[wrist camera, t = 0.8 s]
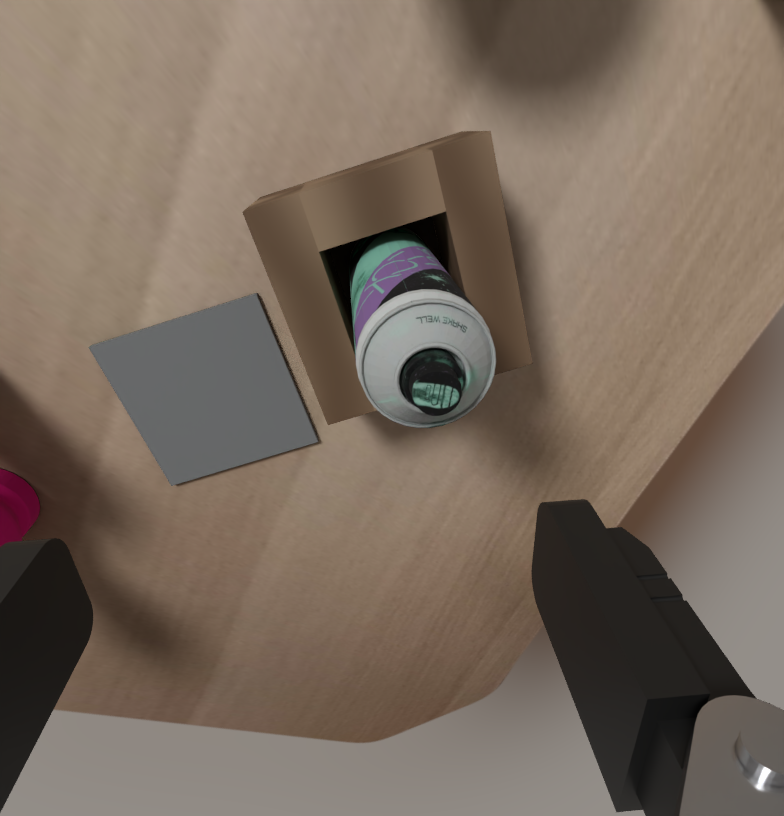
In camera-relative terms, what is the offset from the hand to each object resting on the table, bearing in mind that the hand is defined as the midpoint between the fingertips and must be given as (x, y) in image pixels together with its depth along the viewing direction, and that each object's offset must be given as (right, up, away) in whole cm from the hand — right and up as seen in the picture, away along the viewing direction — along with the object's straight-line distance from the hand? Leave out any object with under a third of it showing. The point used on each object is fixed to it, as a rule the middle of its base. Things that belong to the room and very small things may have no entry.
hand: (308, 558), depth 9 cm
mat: (-12, +4, +30) cm, 32 cm away
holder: (+1, +12, +27) cm, 29 cm away
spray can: (+1, +12, +27) cm, 30 cm away
